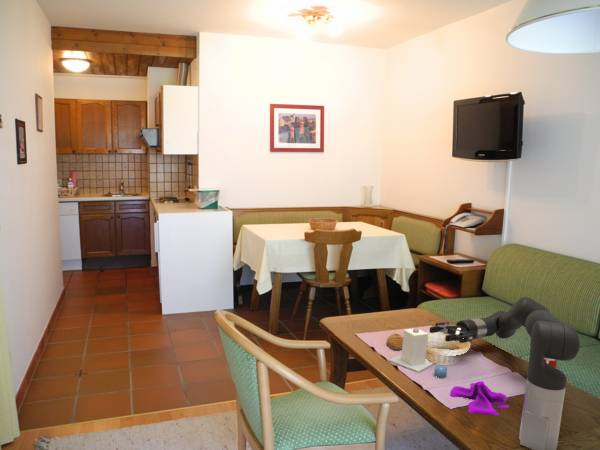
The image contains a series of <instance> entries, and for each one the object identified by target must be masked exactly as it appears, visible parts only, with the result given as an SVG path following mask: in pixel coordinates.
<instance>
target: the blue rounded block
mask: <svg viewBox="0 0 600 450" xmlns="http://www.w3.org/2000/svg"><path fill="white" fill-rule="evenodd" d="M447 374H448V367H447V366H446V365H443V364H437V365H436V364H435V367H434V373H433V375H434V377H436V376H437V377H436V378H438V377H439V378H438V379H446V378H447V377H448V376H447ZM445 377H446V378H445Z"/></svg>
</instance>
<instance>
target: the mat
mask: <svg viewBox="0 0 600 450" xmlns="http://www.w3.org/2000/svg"><path fill="white" fill-rule="evenodd" d="M401 356H402V353H401V354H400V355H397V356H395V357H393V358H391V359H390V358H389V360H388V361H389V362H390V363H393V364H395V365H397V366H400V367H403V368H406V369H408V370H410V371H412V372H413V371H414V372H415V373H421V372H423V371H425V370H427V369H428V367H429V368H430V366H431V365H432V363H430V362H429V361H428V360H427V359H428V358H427V359H426V360H425V363H424V364H418V365H412V366H411V365H410V364H408V363H407V362H405V361H404V360H402V359H401ZM432 366H433V365H432ZM432 366H431V367H432Z"/></svg>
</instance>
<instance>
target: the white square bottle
mask: <svg viewBox="0 0 600 450" xmlns="http://www.w3.org/2000/svg"><path fill="white" fill-rule="evenodd" d="M402 334H403V336H402V337H403V345H402V349H401V354H402V356H401V359H402V360H404V361H405V362H407V363H408V364H410V365H411V366H412V365H418V364H424V363H425V360H426V358H427V348H428V340H429V339H428V338H429V333H427V332H426V331H424V330H422V329H420V328H418V327H413V328H407V329H403V333H402Z"/></svg>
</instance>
